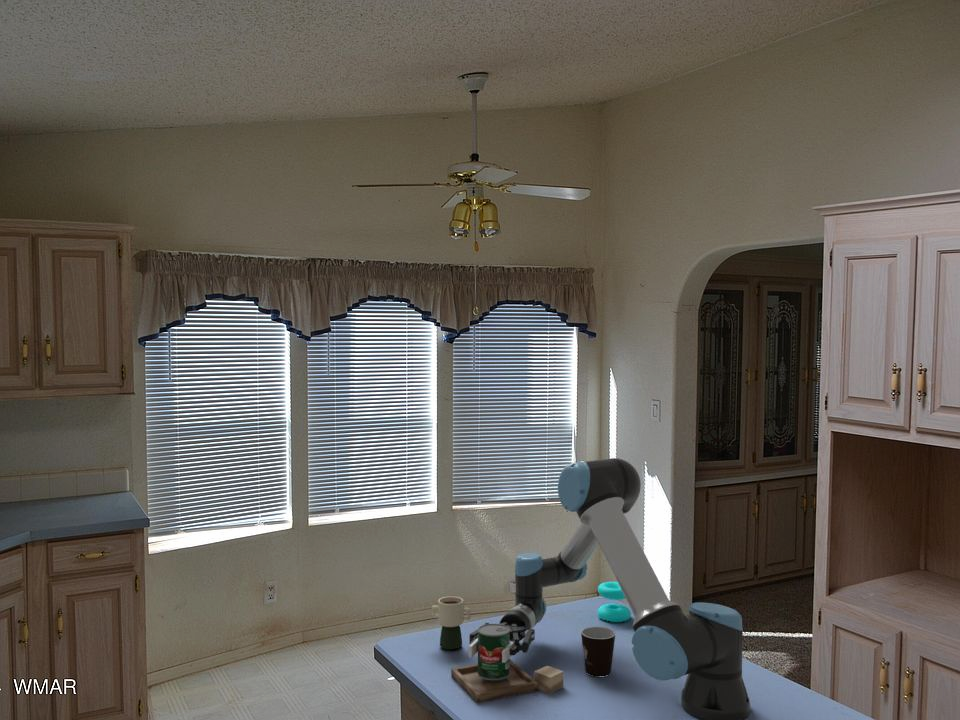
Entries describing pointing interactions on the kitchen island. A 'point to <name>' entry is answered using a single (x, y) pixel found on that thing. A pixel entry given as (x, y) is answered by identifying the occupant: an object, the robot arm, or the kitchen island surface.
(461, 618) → the character mug
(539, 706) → the kitchen island surface
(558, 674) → the wooden block
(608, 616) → the donuts
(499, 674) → the canned tomato
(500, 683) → the tray
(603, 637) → the coffee mug
